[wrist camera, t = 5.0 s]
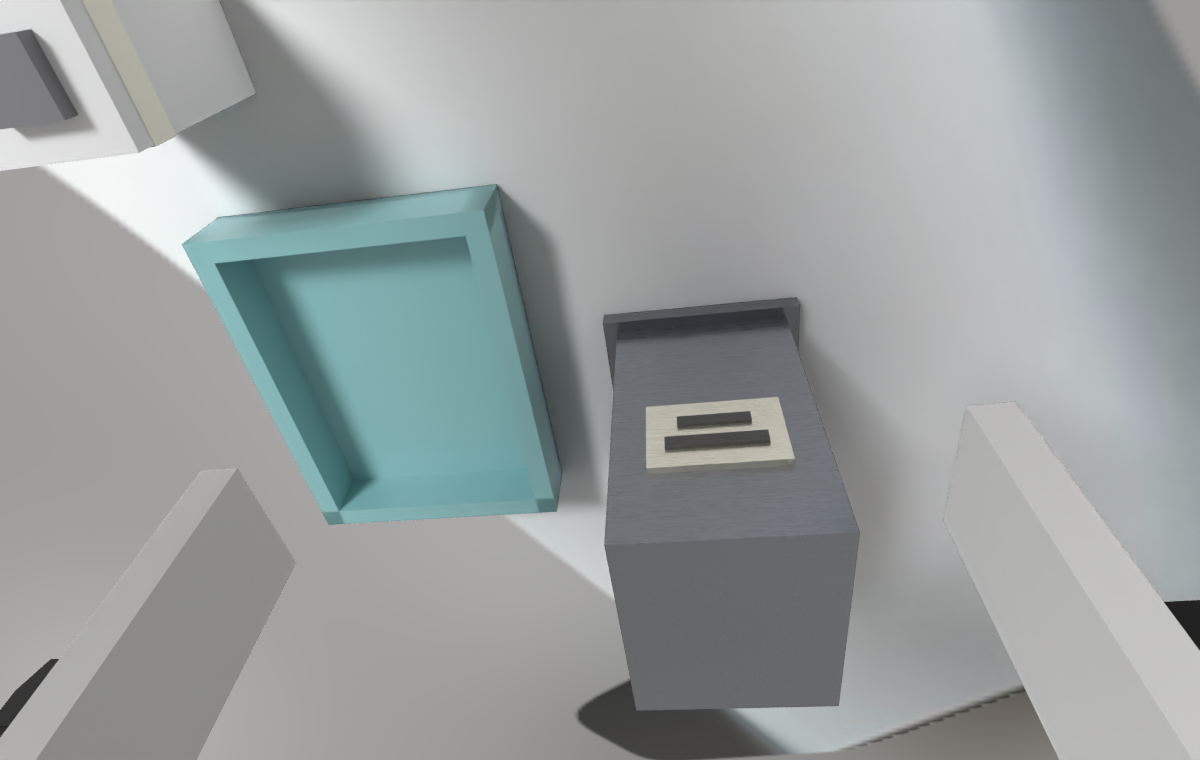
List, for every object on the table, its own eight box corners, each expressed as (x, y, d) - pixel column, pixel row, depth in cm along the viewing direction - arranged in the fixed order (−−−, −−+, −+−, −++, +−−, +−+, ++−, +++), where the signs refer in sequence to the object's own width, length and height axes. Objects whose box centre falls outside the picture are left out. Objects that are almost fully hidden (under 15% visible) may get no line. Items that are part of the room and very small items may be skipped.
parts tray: (217, 217, 31) (181, 244, 29) (496, 184, 30) (483, 210, 27) (347, 487, 41) (328, 524, 39) (562, 473, 39) (556, 511, 37)
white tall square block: (76, -30, 26) (-136, -3, 19) (200, -51, 25) (28, -31, 18) (145, 110, 29) (-16, 178, 22) (257, 94, 28) (129, 159, 21)
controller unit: (603, 315, 33) (583, 533, 22) (796, 297, 32) (881, 517, 21) (629, 481, 39) (623, 718, 28) (790, 471, 38) (853, 713, 27)
